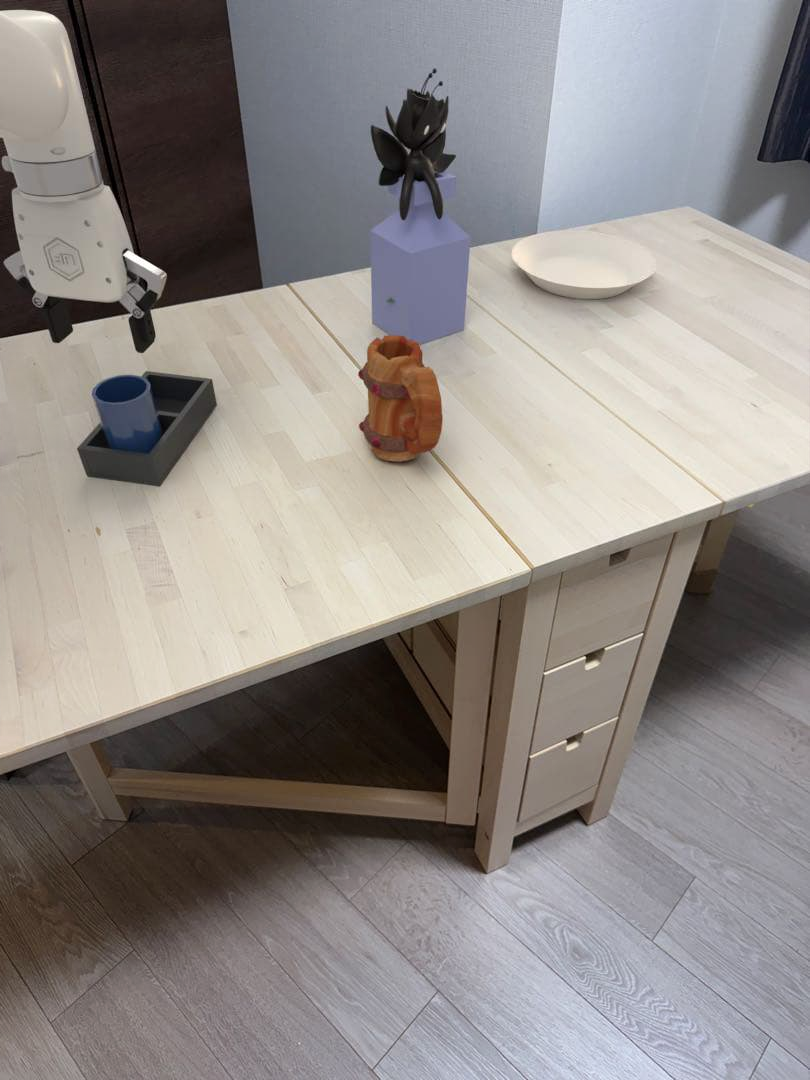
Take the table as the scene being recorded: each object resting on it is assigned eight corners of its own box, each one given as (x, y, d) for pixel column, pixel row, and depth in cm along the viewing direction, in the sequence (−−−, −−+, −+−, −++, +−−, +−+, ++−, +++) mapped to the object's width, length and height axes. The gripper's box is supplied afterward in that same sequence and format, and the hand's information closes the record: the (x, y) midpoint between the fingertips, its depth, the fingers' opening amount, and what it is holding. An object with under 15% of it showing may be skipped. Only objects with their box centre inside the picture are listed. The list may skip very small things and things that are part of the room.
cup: (102, 464, 90) (81, 400, 83) (127, 434, 94) (108, 372, 88) (152, 471, 89) (134, 407, 83) (174, 441, 93) (159, 378, 87)
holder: (86, 476, 89) (76, 448, 86) (152, 397, 102) (145, 370, 99) (159, 486, 88) (152, 458, 85) (217, 405, 101) (212, 378, 98)
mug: (351, 437, 96) (346, 329, 85) (408, 422, 98) (410, 316, 88) (398, 504, 86) (399, 392, 76) (460, 486, 89) (469, 375, 78)
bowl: (501, 299, 126) (503, 279, 123) (517, 243, 143) (520, 224, 141) (652, 316, 122) (658, 295, 119) (650, 256, 140) (655, 237, 137)
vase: (397, 357, 111) (399, 89, 87) (356, 327, 118) (347, 70, 94) (472, 332, 117) (492, 74, 93) (429, 304, 124) (437, 58, 100)
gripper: (-51, 178, 68) (12, 349, 79) (125, 193, 65) (164, 368, 77) (-2, 155, 73) (50, 319, 85) (162, 169, 71) (193, 335, 82)
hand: (104, 342), depth 81 cm, fingers open, 9 cm apart
